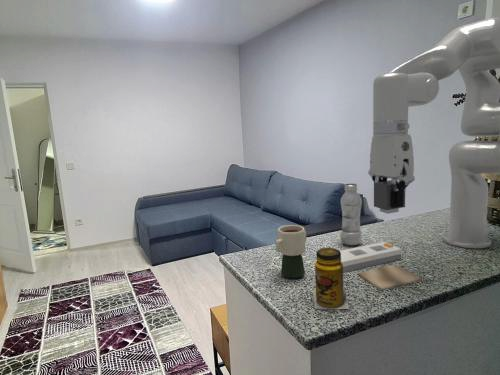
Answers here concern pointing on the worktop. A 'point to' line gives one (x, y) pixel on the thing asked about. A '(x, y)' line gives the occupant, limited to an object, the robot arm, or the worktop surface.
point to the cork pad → (388, 277)
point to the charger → (385, 197)
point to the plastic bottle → (351, 215)
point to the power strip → (369, 256)
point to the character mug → (291, 249)
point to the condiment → (329, 280)
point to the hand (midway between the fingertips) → (389, 204)
